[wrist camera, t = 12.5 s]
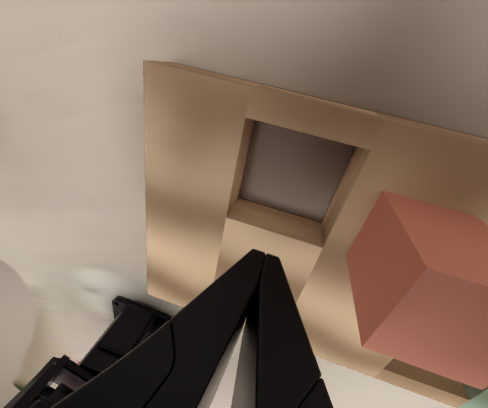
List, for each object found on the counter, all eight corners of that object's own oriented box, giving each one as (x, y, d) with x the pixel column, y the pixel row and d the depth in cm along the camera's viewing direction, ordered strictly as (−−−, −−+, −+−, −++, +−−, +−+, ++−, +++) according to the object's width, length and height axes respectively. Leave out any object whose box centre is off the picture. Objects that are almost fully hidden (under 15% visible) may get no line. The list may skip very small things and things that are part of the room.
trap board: (511, 394, 18) (538, 437, 16) (164, 271, 21) (147, 294, 19) (818, 219, 10) (962, 261, 7) (171, 62, 13) (143, 60, 11)
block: (423, 280, 12) (481, 390, 8) (345, 255, 13) (361, 347, 9) (477, 217, 10) (593, 319, 6) (382, 190, 11) (427, 267, 6)
